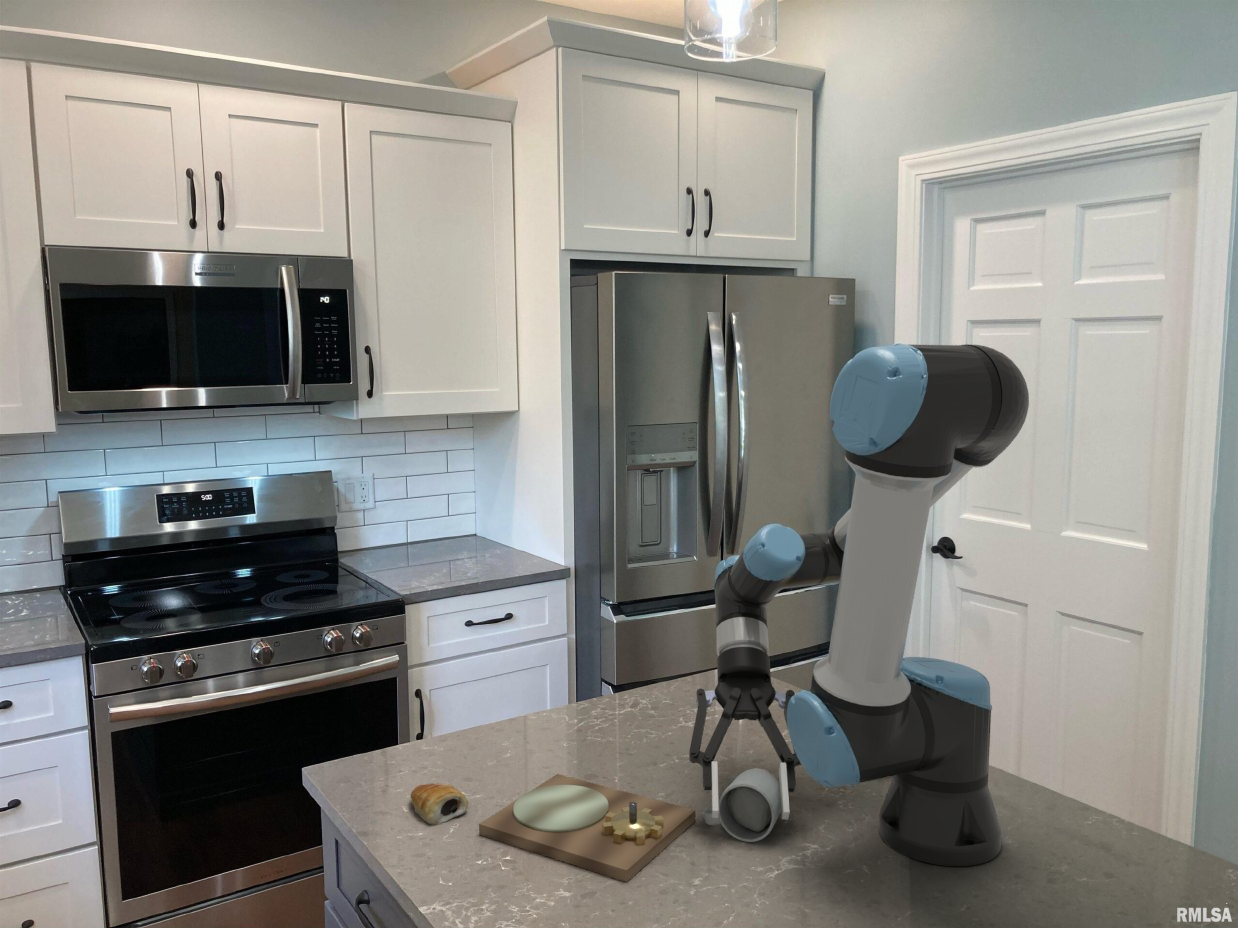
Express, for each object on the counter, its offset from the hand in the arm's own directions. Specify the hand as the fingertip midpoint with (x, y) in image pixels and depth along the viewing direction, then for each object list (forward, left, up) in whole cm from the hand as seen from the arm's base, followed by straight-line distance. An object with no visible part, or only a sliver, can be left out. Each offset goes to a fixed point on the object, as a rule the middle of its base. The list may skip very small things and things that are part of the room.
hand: (750, 814), depth 123 cm
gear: (+14, +7, -2) cm, 15 cm away
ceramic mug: (+3, -3, -4) cm, 6 cm away
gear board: (+21, +7, -4) cm, 22 cm away
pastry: (+42, +14, -4) cm, 44 cm away
